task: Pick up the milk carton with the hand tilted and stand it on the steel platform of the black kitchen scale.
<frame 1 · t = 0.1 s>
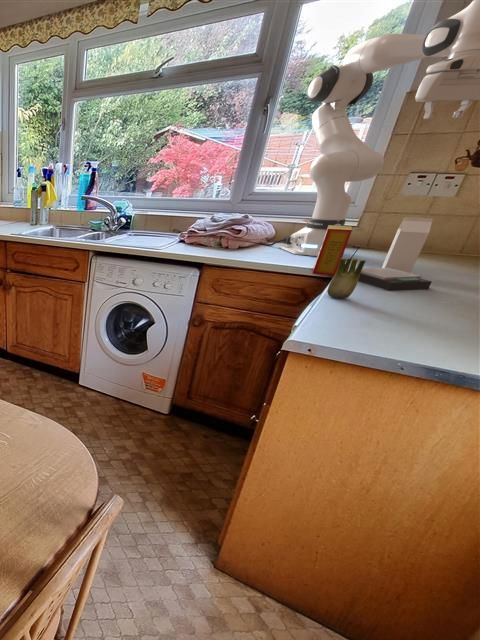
hand: (442, 118, 136), 48 cm above the table, tool pointing down, fingers open, 8 cm apart
baking soda box: (323, 272, 159), on the table
fennel bulb: (337, 298, 132), on the table
scale: (386, 283, 144), on the table
milk carton: (393, 275, 153), on the table
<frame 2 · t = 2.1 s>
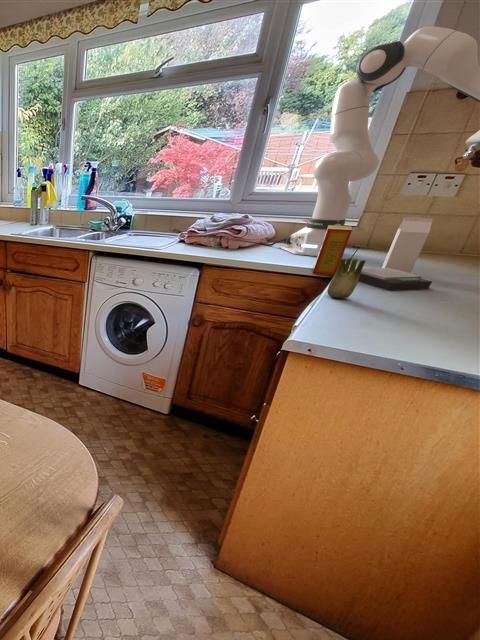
hand: (479, 156, 136), 37 cm above the table, tool tilted 40°, fingers open, 8 cm apart
nothing on the table moved.
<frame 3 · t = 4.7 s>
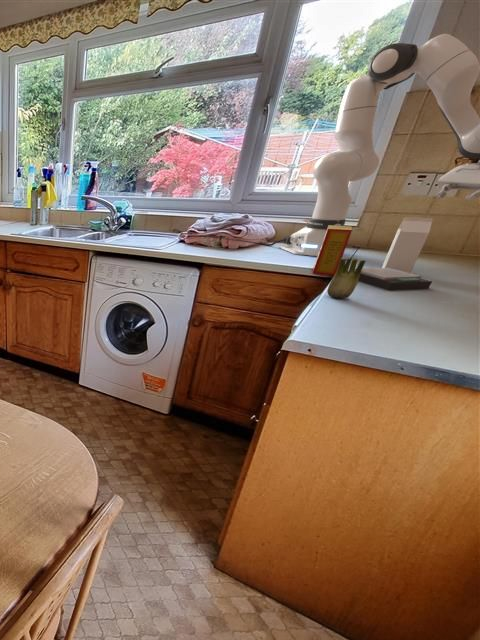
hand: (452, 198, 142), 25 cm above the table, tool tilted 45°, fingers open, 8 cm apart
nothing on the table moved.
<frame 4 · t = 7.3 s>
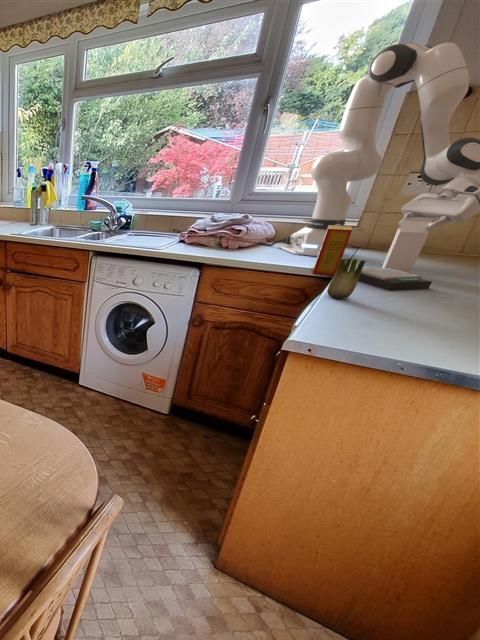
hand: (414, 226, 145), 16 cm above the table, tool tilted 45°
milk carton: (393, 275, 153), on the table, touching gripper
everything else where it was.
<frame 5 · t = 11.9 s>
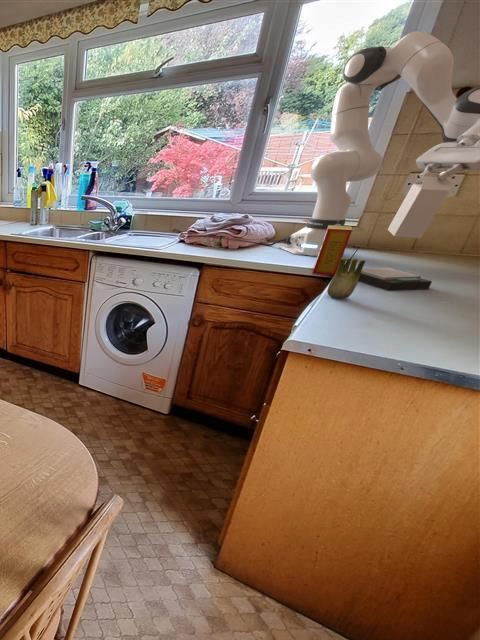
hand: (430, 178, 135), 31 cm above the table, tool tilted 45°, fingers closed on milk carton, 4 cm apart
milk carton: (402, 235, 145), point 14 cm above the table, touching gripper
everything else where it was.
when the fingers open (21 cm above the table, at t = 16.2 s): milk carton stays where it is, resting on scale.
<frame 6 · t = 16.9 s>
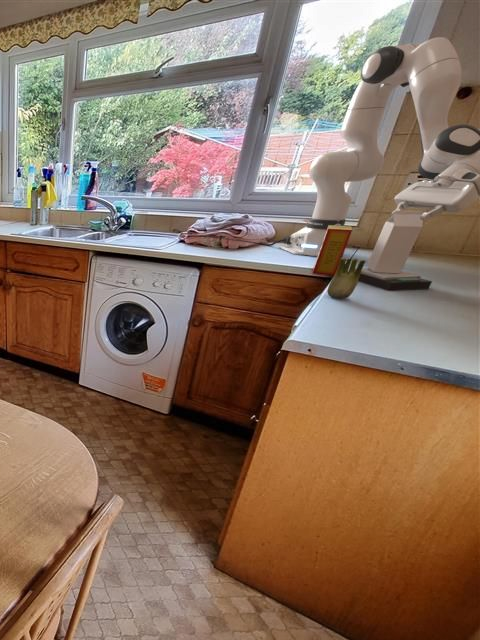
hand: (407, 217, 136), 21 cm above the table, tool tilted 45°, fingers open, 8 cm apart
milk carton: (382, 270, 146), point 3 cm above the table, touching gripper, scale
everything else where it was.
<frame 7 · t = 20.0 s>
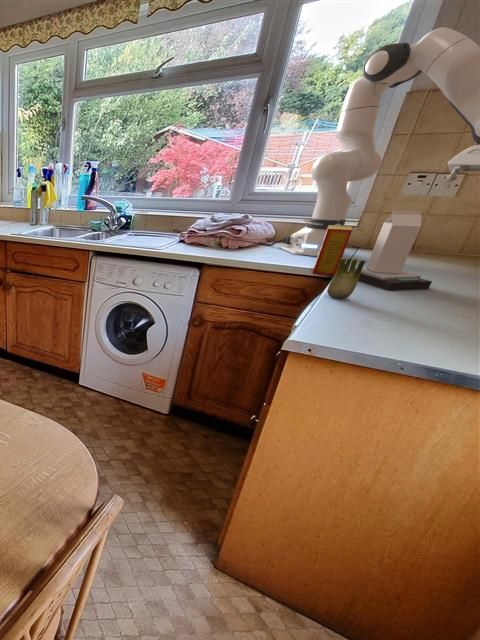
hand: (464, 181, 131), 31 cm above the table, tool tilted 45°, fingers open, 8 cm apart
milk carton: (381, 271, 146), point 3 cm above the table, touching scale
everything else where it was.
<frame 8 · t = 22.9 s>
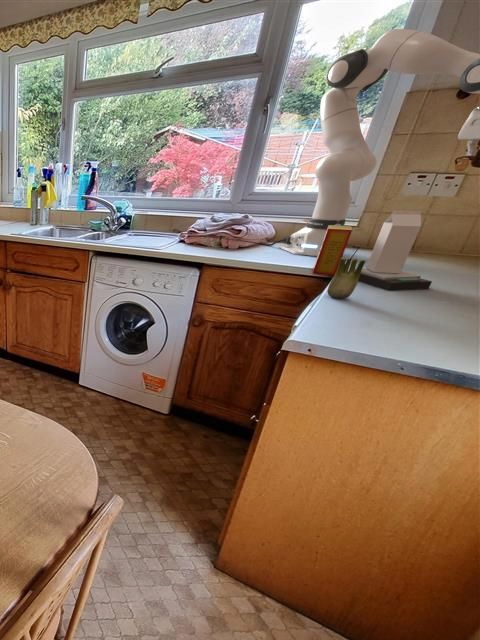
nothing on the table moved.
at the end: milk carton inside the target area on the scale (1.9 cm from its centre), point 3.1 cm above the scale's base; milk carton tilted 0°; the gripper is holding nothing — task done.
